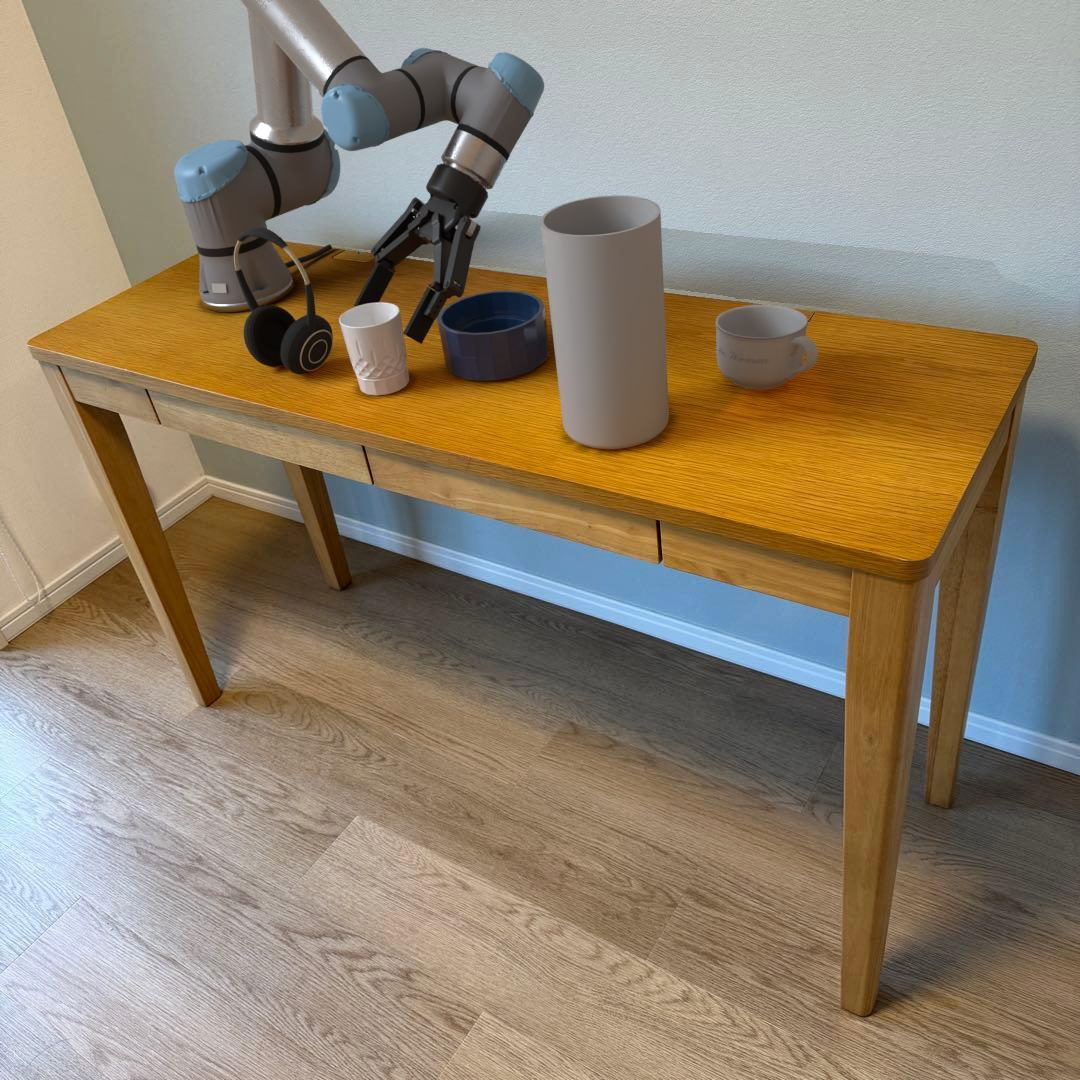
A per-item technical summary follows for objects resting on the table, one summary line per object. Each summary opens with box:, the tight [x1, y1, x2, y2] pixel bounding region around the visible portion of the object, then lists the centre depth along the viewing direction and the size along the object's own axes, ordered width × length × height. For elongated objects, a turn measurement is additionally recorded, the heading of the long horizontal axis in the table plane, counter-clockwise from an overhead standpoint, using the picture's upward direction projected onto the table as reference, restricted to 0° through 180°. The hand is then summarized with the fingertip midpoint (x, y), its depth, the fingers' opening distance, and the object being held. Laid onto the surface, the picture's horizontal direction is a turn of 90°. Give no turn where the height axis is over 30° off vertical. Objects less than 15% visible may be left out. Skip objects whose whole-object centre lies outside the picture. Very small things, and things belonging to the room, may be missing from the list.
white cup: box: [338, 301, 410, 397], centre depth 131 cm, size 8×8×10 cm
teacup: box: [715, 304, 819, 391], centre depth 120 cm, size 14×11×8 cm
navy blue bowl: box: [436, 289, 550, 382], centre depth 135 cm, size 14×14×7 cm
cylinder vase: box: [539, 194, 670, 450], centre depth 111 cm, size 12×12×25 cm
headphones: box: [234, 228, 334, 376], centre depth 136 cm, size 9×15×20 cm, turn 54°
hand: (386, 324), depth 131 cm, fingers open, 13 cm apart
